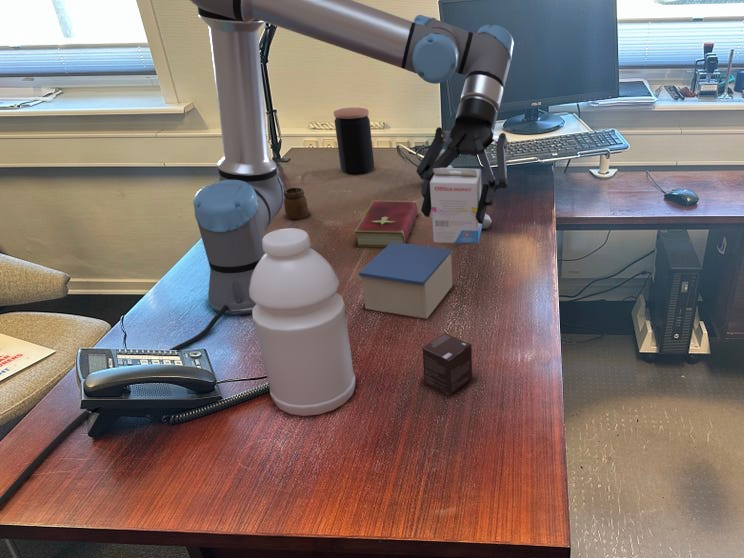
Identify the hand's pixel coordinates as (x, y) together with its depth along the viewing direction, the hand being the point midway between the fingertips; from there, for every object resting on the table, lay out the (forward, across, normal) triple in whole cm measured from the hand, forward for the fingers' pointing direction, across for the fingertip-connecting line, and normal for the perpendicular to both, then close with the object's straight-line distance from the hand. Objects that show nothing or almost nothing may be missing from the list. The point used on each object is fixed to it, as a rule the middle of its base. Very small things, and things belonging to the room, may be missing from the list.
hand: (451, 217), depth 118 cm
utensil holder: (-11, +59, -41) cm, 73 cm away
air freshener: (-36, +32, -66) cm, 81 cm away
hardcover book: (-10, +31, -40) cm, 52 cm away
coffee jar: (-40, +62, -70) cm, 101 cm away
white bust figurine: (-18, +9, -47) cm, 51 cm away
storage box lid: (+7, +12, -12) cm, 18 cm away
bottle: (+37, +14, +7) cm, 40 cm away
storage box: (+12, +12, -17) cm, 24 cm away
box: (+30, -7, +1) cm, 31 cm away
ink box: (+1, 0, -6) cm, 6 cm away
